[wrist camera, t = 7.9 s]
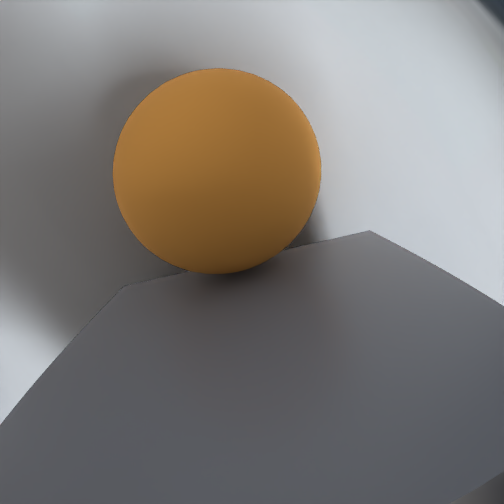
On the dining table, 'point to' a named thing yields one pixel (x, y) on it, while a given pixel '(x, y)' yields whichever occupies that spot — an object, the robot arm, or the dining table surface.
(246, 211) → the ball
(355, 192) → the dining table surface
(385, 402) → the grey cube
